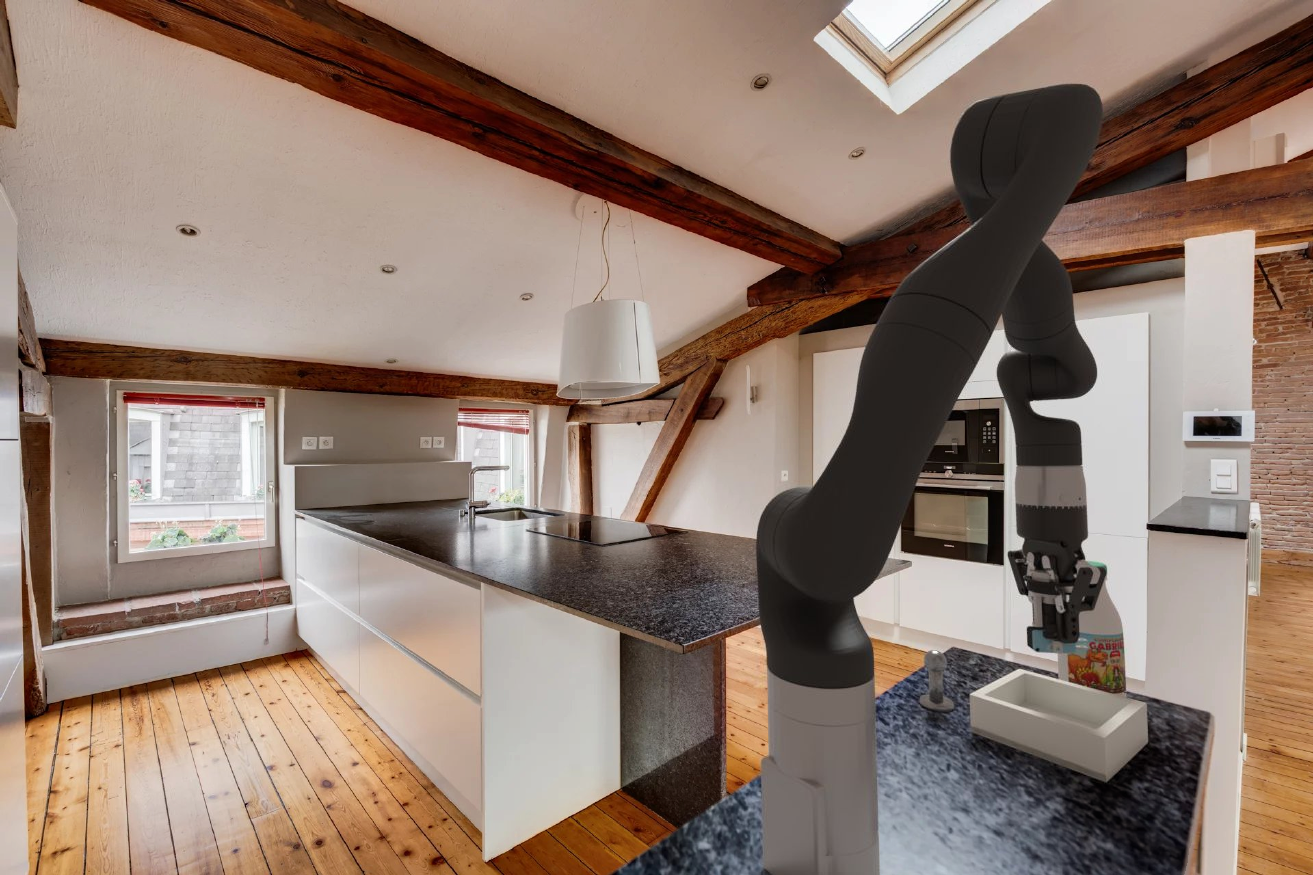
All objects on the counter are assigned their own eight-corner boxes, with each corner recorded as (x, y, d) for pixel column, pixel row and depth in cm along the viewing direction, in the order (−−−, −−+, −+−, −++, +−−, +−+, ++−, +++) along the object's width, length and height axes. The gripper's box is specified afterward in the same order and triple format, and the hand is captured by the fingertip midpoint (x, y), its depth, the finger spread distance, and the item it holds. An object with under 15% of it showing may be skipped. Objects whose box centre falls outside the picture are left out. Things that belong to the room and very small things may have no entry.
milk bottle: (1047, 697, 84) (1042, 560, 84) (1078, 688, 87) (1073, 555, 88) (1107, 719, 77) (1101, 569, 77) (1138, 708, 80) (1132, 564, 81)
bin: (1106, 782, 62) (1104, 737, 63) (970, 731, 74) (969, 694, 74) (1148, 742, 71) (1146, 702, 71) (1020, 702, 82) (1019, 668, 83)
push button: (1075, 644, 74) (1072, 567, 75) (1099, 659, 69) (1095, 576, 69) (1019, 642, 76) (1016, 566, 76) (1038, 657, 70) (1035, 575, 71)
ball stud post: (943, 714, 79) (941, 658, 79) (913, 703, 83) (912, 649, 83) (959, 706, 82) (958, 651, 82) (929, 695, 85) (928, 643, 85)
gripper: (1127, 505, 66) (1134, 655, 66) (1036, 496, 80) (1041, 620, 80) (1067, 506, 66) (1073, 658, 65) (985, 498, 80) (990, 622, 79)
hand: (1055, 636), depth 73 cm, fingers closed on push button, 3 cm apart
